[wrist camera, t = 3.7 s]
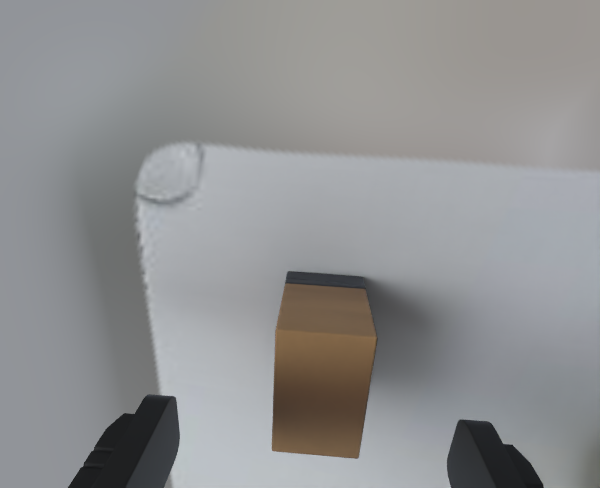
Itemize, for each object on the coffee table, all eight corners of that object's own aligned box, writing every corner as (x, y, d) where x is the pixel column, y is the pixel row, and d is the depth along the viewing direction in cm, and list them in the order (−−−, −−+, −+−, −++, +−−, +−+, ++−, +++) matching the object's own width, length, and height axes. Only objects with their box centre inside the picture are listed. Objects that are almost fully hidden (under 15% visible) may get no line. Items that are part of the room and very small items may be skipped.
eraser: (287, 270, 14) (275, 329, 10) (363, 276, 14) (378, 337, 10) (283, 371, 16) (271, 452, 12) (349, 376, 16) (358, 459, 12)
